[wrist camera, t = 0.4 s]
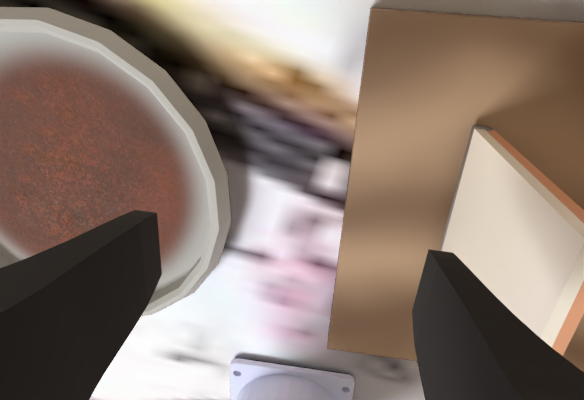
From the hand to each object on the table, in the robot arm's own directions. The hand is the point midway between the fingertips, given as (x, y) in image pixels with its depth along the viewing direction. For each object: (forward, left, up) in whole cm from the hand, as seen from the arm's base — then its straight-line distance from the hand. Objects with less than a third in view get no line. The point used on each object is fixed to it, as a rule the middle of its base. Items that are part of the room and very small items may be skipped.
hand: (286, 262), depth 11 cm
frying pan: (-1, +17, -11) cm, 20 cm away
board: (-3, -10, -10) cm, 14 cm away
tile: (-3, -7, -4) cm, 9 cm away
